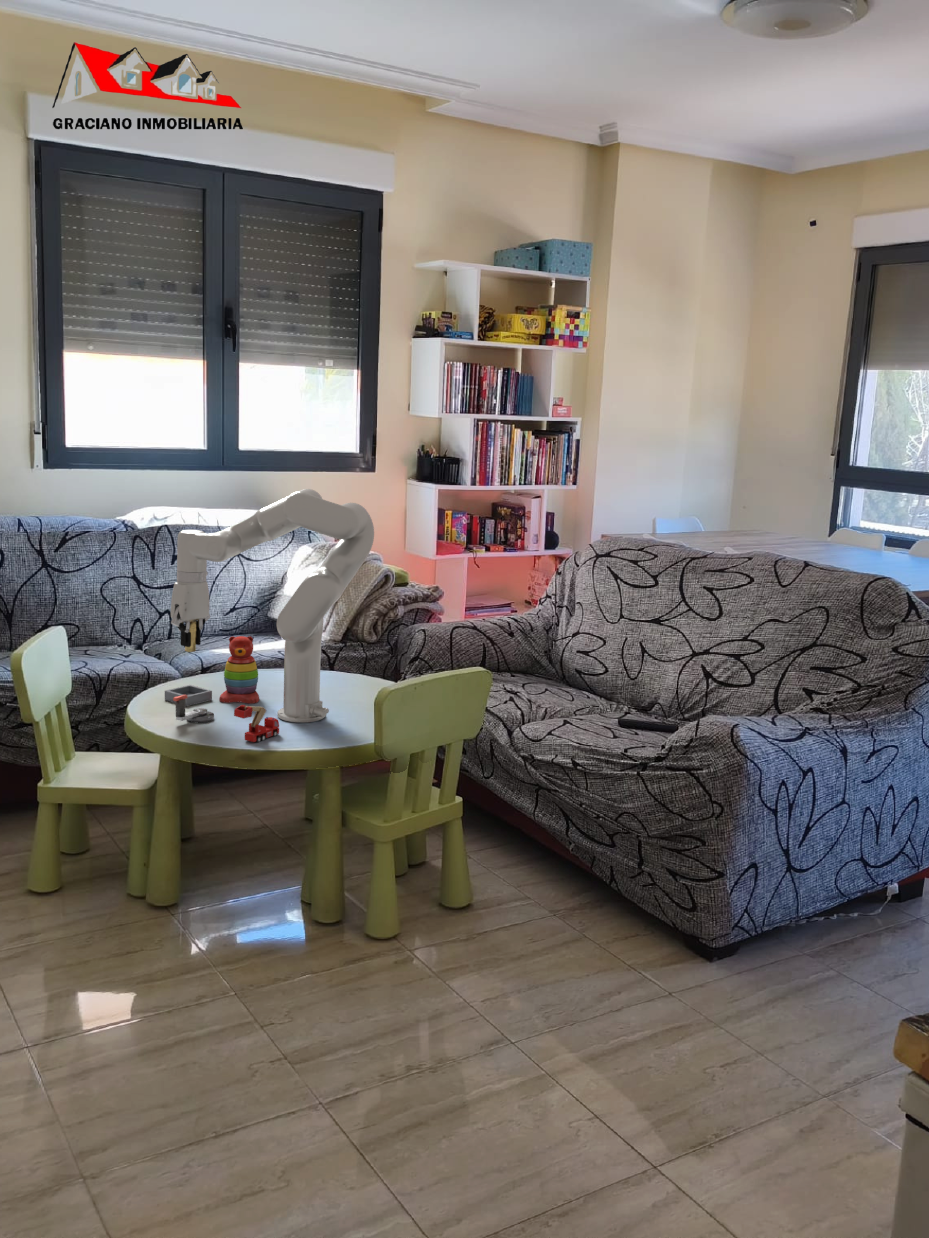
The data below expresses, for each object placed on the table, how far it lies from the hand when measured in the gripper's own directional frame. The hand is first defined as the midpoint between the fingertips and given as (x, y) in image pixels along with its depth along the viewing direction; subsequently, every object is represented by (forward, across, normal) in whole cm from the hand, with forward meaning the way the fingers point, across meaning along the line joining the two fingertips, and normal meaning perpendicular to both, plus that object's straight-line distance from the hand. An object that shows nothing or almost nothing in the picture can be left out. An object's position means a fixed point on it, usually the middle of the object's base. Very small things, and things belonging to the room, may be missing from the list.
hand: (190, 644), depth 290 cm
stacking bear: (+18, -16, +4) cm, 24 cm away
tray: (+18, -5, -6) cm, 19 cm away
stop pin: (+2, 0, 0) cm, 2 cm away
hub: (+17, +5, +10) cm, 21 cm away
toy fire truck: (+17, +9, +32) cm, 38 cm away
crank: (+16, +9, +10) cm, 21 cm away
